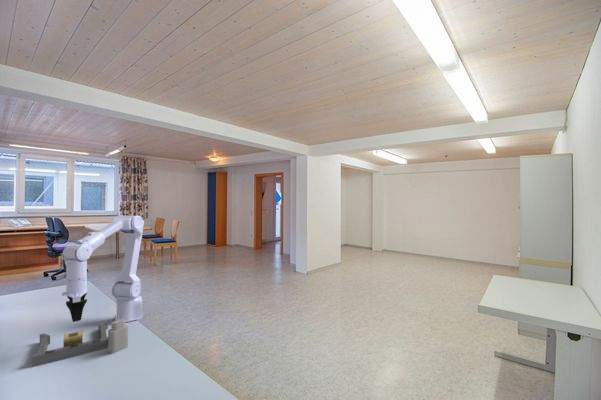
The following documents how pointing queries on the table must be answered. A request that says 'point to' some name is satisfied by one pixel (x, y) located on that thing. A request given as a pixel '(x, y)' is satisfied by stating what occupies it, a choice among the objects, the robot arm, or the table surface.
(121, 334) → the power adapter
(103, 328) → the grey square frame
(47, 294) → the table surface
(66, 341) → the brass cube with recess
